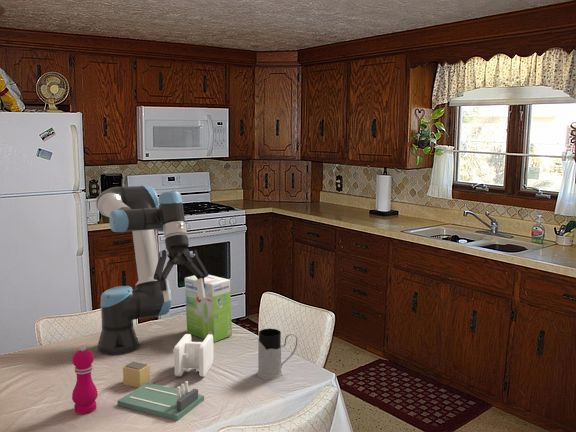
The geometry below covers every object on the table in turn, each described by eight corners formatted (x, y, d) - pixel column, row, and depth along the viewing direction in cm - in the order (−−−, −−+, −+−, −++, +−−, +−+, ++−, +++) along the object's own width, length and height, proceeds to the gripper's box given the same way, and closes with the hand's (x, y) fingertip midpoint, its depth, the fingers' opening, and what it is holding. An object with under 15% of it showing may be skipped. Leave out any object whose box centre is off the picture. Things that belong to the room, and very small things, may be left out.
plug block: (123, 384, 183) (122, 366, 183) (133, 378, 188) (132, 360, 187) (140, 388, 181) (139, 369, 180) (150, 382, 185) (149, 364, 184)
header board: (117, 405, 169) (116, 382, 168) (147, 386, 181) (146, 365, 180) (177, 420, 160) (176, 396, 159) (204, 400, 172) (203, 377, 171)
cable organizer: (203, 381, 186) (203, 348, 184) (172, 379, 187) (172, 346, 185) (214, 363, 201) (213, 332, 199) (185, 362, 202) (185, 331, 200)
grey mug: (254, 369, 195) (254, 329, 193) (293, 366, 199) (294, 325, 197) (259, 380, 187) (259, 337, 185) (300, 376, 190) (300, 334, 188)
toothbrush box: (185, 333, 232) (184, 276, 228) (204, 326, 239) (203, 272, 236) (213, 343, 220) (212, 284, 217) (232, 336, 228) (231, 279, 224)
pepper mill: (76, 404, 169) (73, 341, 167) (100, 403, 170) (98, 340, 167) (69, 415, 162) (66, 350, 159) (94, 414, 163) (91, 349, 160)
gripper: (149, 232, 173) (159, 299, 168) (212, 234, 191) (222, 295, 186) (137, 239, 177) (145, 304, 172) (199, 240, 196) (208, 299, 191)
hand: (185, 299), depth 179 cm, fingers open, 13 cm apart
